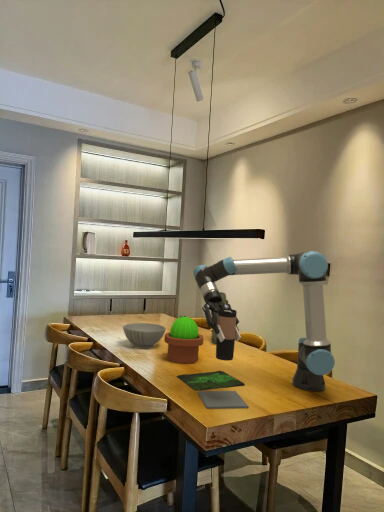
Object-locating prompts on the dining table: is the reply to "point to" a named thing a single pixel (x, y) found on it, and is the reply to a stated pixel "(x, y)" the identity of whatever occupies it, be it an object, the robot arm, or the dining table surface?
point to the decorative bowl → (143, 334)
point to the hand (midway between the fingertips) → (230, 339)
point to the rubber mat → (222, 399)
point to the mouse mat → (209, 380)
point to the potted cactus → (183, 341)
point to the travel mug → (226, 334)
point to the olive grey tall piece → (214, 335)
